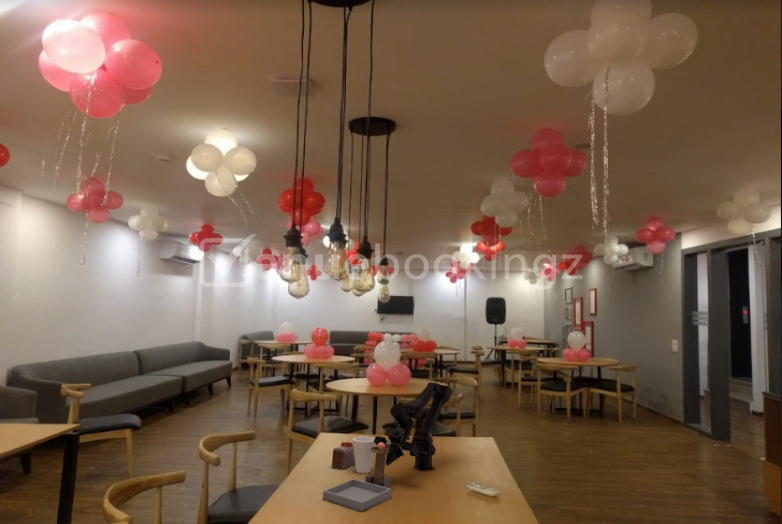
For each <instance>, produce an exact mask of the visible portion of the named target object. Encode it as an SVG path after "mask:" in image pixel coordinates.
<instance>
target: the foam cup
mask: <svg viewBox="0 0 782 524" xmlns="http://www.w3.org/2000/svg"><path fill="white" fill-rule="evenodd" d="M374 439H375V437H372V436H365V435H363V436H362V435H360V436H355V437H353V438H352V443H353V448H354V458H355V464H354V465H355V466H354V467H355V472H356V473H358V474H368V472H369V473H370V472H371V471H372V465H373V461H374V454H375V452H371V447H376V444H375V442H374Z"/></svg>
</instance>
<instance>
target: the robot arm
mask: <svg viewBox="0 0 782 524" xmlns="http://www.w3.org/2000/svg"><path fill="white" fill-rule="evenodd" d="M451 396H453V389H452V388H451V386H450V385H448V384H447V385H445V384H440V383H438V382H433V381H431V382H427V384H426V386H425V388H423V390H422V391H421V392H420V393H419V394H418V395H417V397H416V398H415V399H412V400H409V401H408V402H407V403H404V402H401V401H400V402H399V401H398V403H397V404H394V405H392V407H390V410H389V414H390V415H391V416H392V419H394V421H395V423H396V424H398V425H397V427H389V426H386V428H385V431H384V436H382V435H376V436H375V437H374V438H375V439H374V442H375V446H376V447H377V446H378V444H379V443H380V442H382V443H384V444H385V445H388V446H390V447H389V453H386V458H385V466H388V467H389V466H390V465H391V464H392V463H394V462H395V461H397V460H398V459H399V458H401V457H404V456H405V454H404V453H405V452H406V451H407V452H409V456H410V457H414V465H413V467H414V468H416V469H418V470H419V471H422V472H423V471H429V470H434V469H435V467H433V456H435V454H436V450H437V449H436V447H435V445H434V443H433V442H434V437H433V431H434V430H435V427H436V424H437V422H438V420H439V419H438V418H439V417H440V414H441V411H442V409H443V407H444V405H446V403H448V402H449V401H450V399H451V398H452V397H451ZM431 400H432V401H431ZM430 401H431V404H430V407H429V408H428V409H429V410H428V412H427V413H426V417H425V420H424V421H423V424H422V427H421V428H420V429H416V428H417V425H416V421H414V420H413V419H415V420H419V419H421V417H422V416H423V414H424V412H425V410H424V409H425V407H426V406H427V404H428V403H429V402H430ZM413 429H416V430H415V431H414V434H413V436H412V439H411V442H410V441H409V440H410V434H411V432H412V430H413ZM385 436H387V438H386V437H385ZM387 439H388V440H387Z"/></svg>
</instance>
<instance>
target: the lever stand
mask: <svg viewBox="0 0 782 524" xmlns="http://www.w3.org/2000/svg"><path fill="white" fill-rule="evenodd" d="M373 479H374V473H370V474H368V475H366V476H365V482H368V483H371V484H373ZM391 480H392V479H391V477H387V476H384V478H382V479H380V480H379V486H382V487H386V488H390V489H391Z"/></svg>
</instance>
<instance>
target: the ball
mask: <svg viewBox="0 0 782 524" xmlns="http://www.w3.org/2000/svg"><path fill="white" fill-rule="evenodd" d="M376 447H378V449H379V450H380V449H385V444H384V443H382V442H380V443H379V444H378V446H377V445H376Z"/></svg>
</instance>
